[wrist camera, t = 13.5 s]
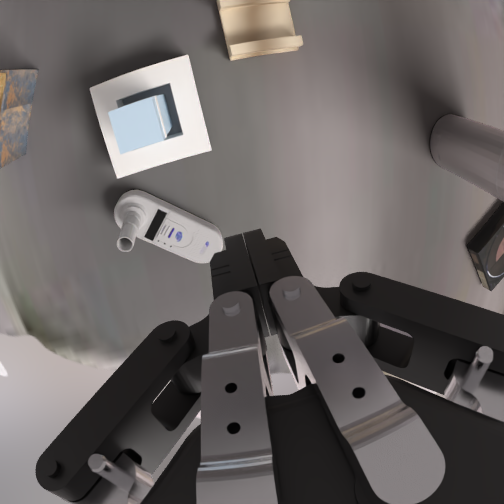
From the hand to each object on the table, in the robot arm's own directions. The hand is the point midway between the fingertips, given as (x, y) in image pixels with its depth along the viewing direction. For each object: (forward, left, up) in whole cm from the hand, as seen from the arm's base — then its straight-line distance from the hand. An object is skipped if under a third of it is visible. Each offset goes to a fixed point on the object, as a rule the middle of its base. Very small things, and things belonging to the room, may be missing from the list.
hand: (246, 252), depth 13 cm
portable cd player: (-55, +30, -28) cm, 69 cm away
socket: (+6, -5, -27) cm, 28 cm away
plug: (+6, -5, -26) cm, 27 cm away
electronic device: (+8, +9, -27) cm, 30 cm away
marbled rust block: (+23, -12, -28) cm, 38 cm away
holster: (-8, -13, -27) cm, 31 cm away
